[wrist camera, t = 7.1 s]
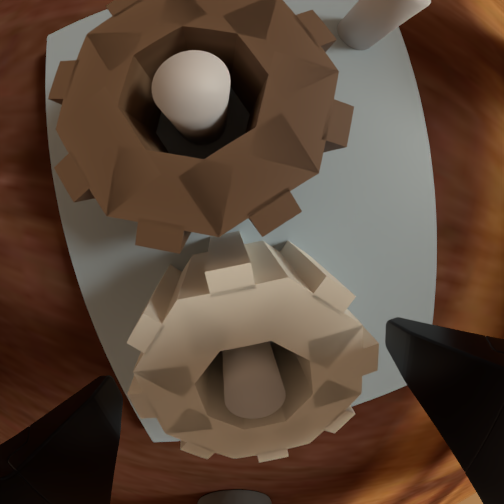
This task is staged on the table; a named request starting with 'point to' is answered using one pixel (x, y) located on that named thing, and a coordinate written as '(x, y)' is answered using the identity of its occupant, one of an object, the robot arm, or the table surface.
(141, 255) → the gear board
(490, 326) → the table surface
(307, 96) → the walnut gear
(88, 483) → the robot arm
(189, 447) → the cream gear
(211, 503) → the bottle
